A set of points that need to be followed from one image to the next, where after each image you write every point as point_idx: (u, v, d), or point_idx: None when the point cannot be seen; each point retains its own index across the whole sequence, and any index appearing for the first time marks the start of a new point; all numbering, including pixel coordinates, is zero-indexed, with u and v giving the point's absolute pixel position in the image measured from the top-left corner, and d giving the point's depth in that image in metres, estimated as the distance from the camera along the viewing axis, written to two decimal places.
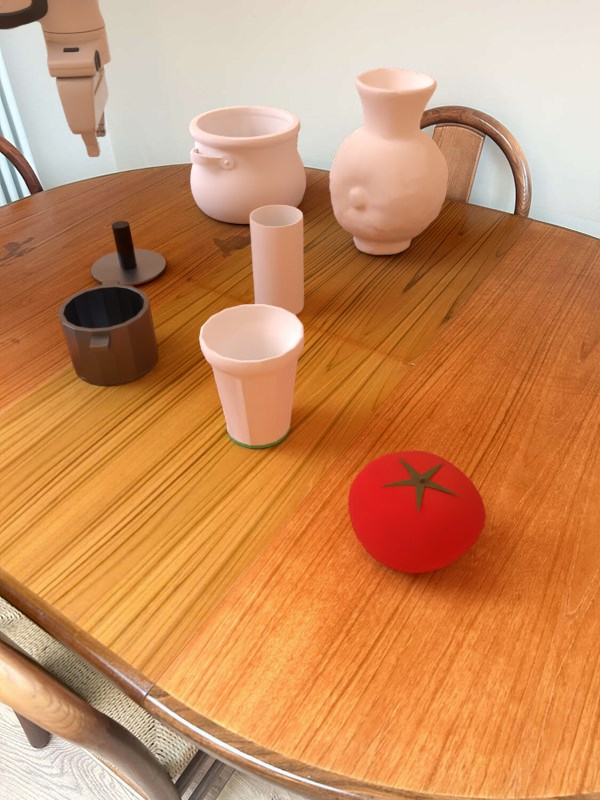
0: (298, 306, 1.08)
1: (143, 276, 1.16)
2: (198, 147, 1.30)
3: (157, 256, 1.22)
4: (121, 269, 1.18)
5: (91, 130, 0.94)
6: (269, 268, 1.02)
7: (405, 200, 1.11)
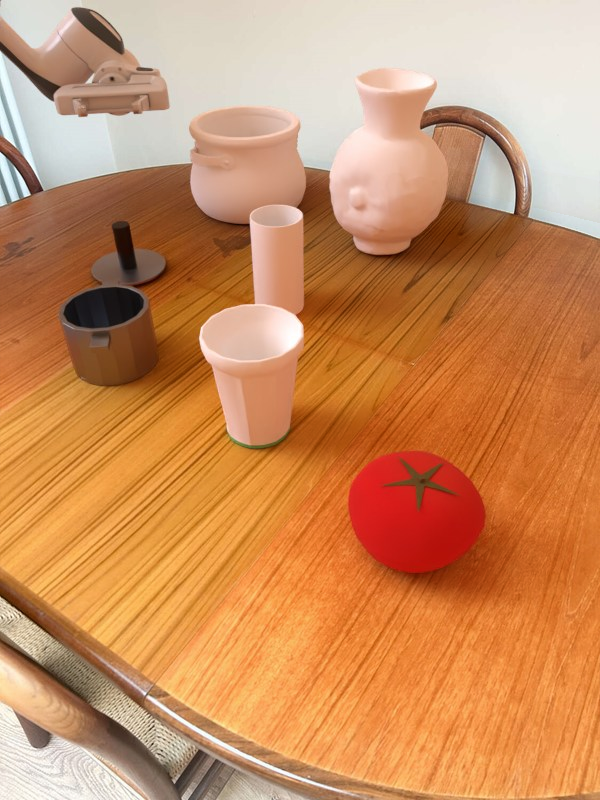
0: (298, 306, 1.08)
1: (143, 276, 1.16)
2: (198, 147, 1.30)
3: (157, 256, 1.22)
4: (121, 269, 1.18)
5: (168, 106, 1.19)
6: (269, 268, 1.02)
7: (405, 200, 1.11)
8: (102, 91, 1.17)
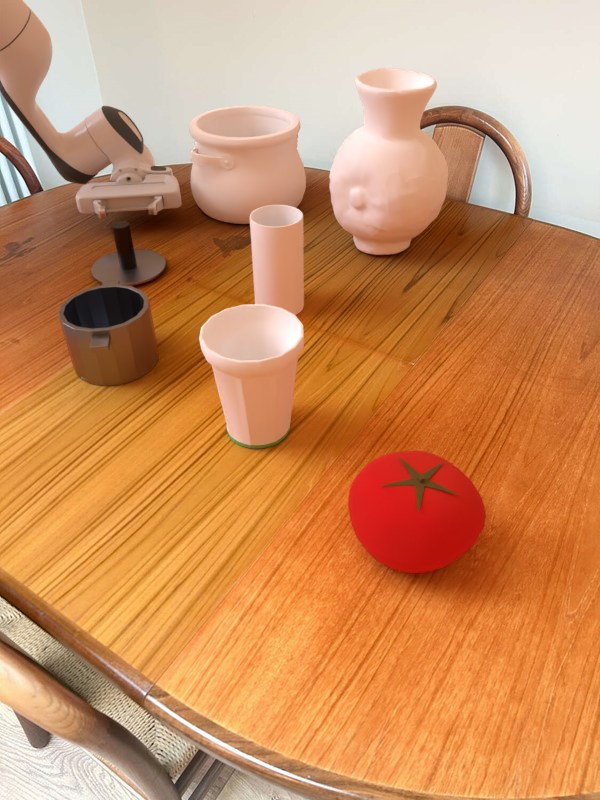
0: (298, 306, 1.08)
1: (143, 276, 1.16)
2: (198, 147, 1.30)
3: (157, 256, 1.22)
4: (121, 269, 1.18)
5: (180, 204, 1.30)
6: (269, 268, 1.02)
7: (405, 200, 1.11)
8: (120, 193, 1.27)
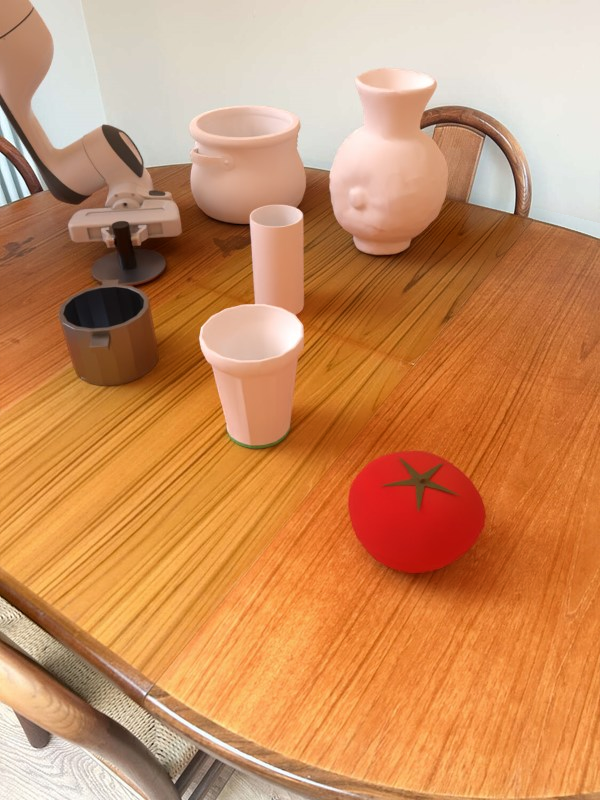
0: (298, 306, 1.08)
1: (143, 276, 1.16)
2: (198, 147, 1.30)
3: (157, 256, 1.22)
4: (121, 269, 1.18)
5: (180, 232, 1.21)
6: (269, 268, 1.02)
7: (405, 200, 1.11)
8: (116, 220, 1.19)
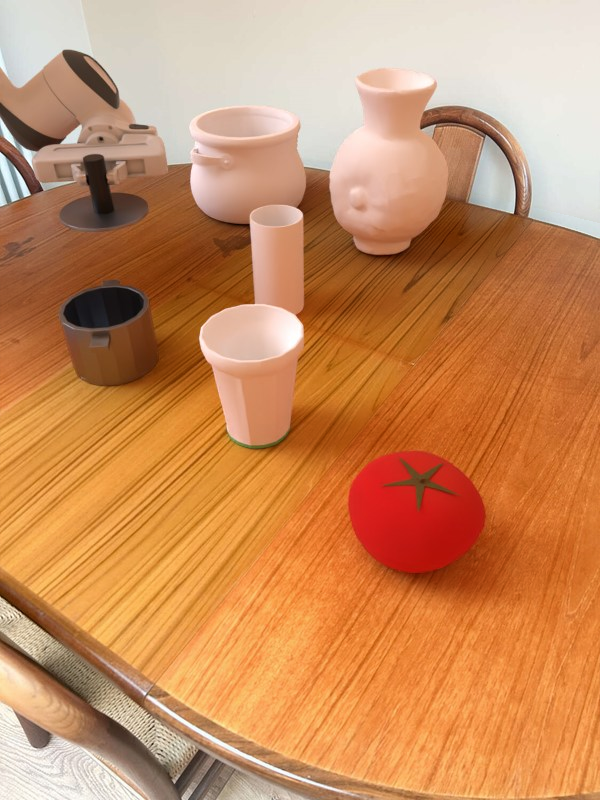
0: (298, 306, 1.08)
1: (121, 221, 0.97)
2: (198, 147, 1.30)
3: (139, 200, 1.03)
4: (95, 213, 0.99)
5: (166, 171, 1.02)
6: (269, 268, 1.02)
7: (405, 200, 1.11)
8: None
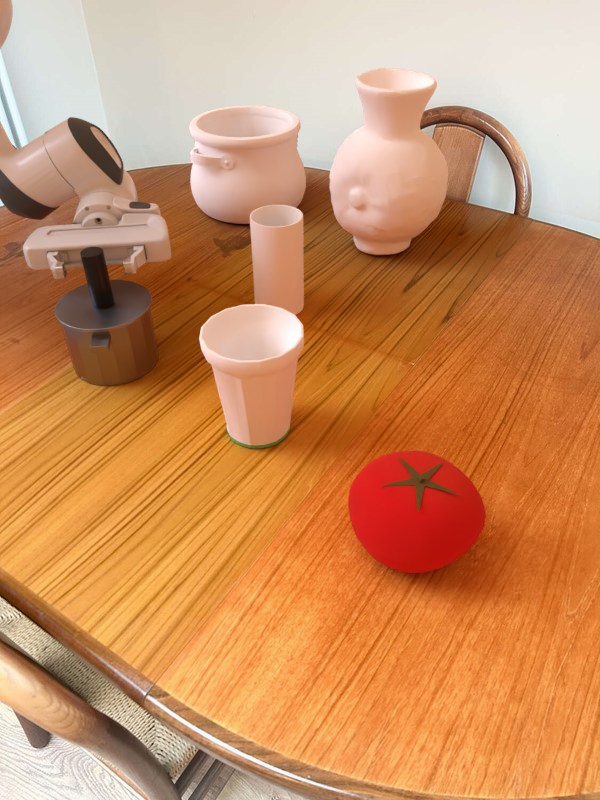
0: (298, 306, 1.08)
1: (122, 318, 0.89)
2: (198, 147, 1.30)
3: (141, 290, 0.95)
4: (94, 308, 0.91)
5: (169, 256, 0.94)
6: (269, 268, 1.02)
7: (405, 200, 1.11)
8: (85, 241, 0.91)
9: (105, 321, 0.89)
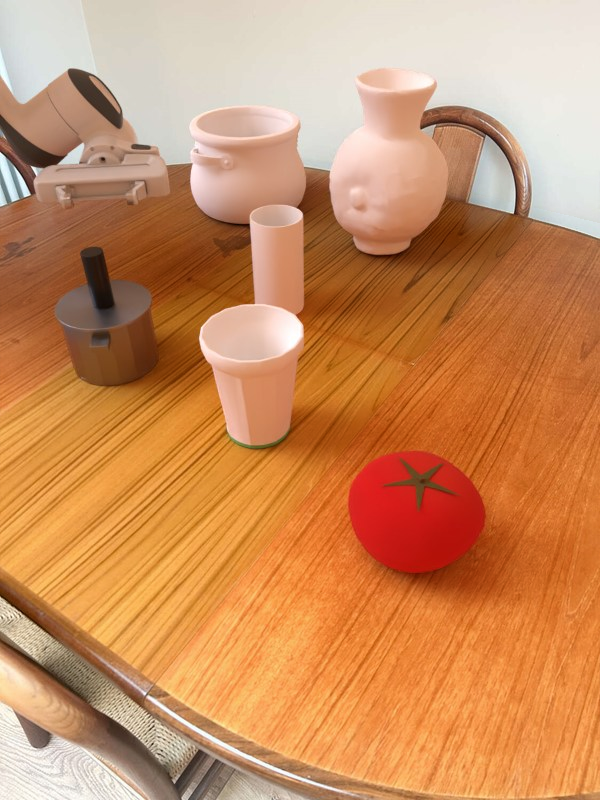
0: (298, 306, 1.08)
1: (122, 318, 0.89)
2: (198, 147, 1.30)
3: (141, 290, 0.95)
4: (94, 308, 0.91)
5: (168, 192, 1.02)
6: (269, 268, 1.02)
7: (405, 200, 1.11)
8: (91, 177, 0.99)
9: (105, 321, 0.89)
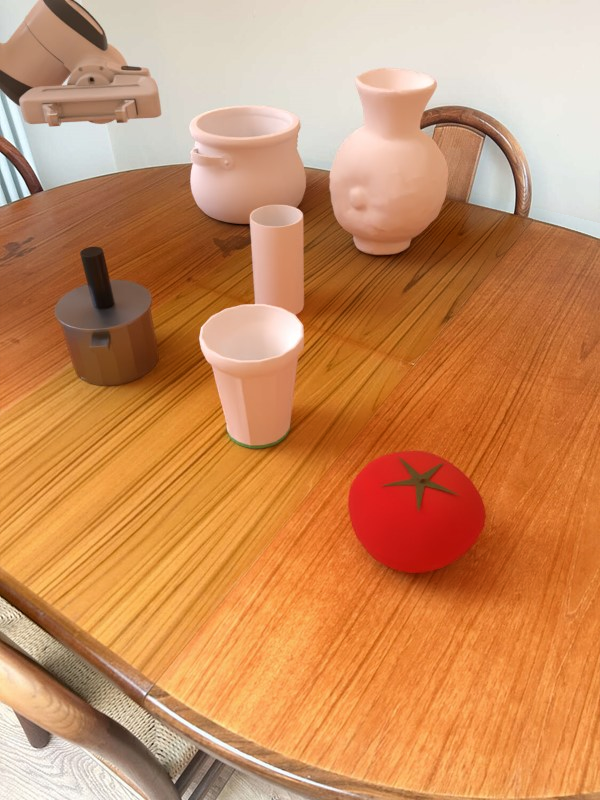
0: (298, 306, 1.08)
1: (122, 318, 0.89)
2: (198, 147, 1.30)
3: (141, 290, 0.95)
4: (94, 308, 0.91)
5: (159, 112, 0.98)
6: (269, 268, 1.02)
7: (405, 200, 1.11)
8: (79, 95, 0.96)
9: (105, 321, 0.89)
